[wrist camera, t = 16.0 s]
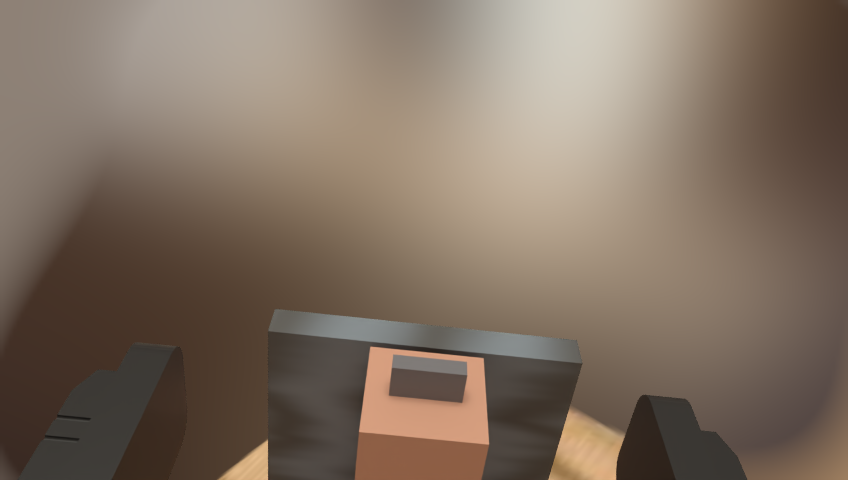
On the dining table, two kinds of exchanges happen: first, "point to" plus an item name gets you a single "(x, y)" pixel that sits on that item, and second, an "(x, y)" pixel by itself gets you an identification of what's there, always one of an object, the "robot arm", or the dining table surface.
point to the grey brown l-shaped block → (352, 338)
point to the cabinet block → (422, 417)
